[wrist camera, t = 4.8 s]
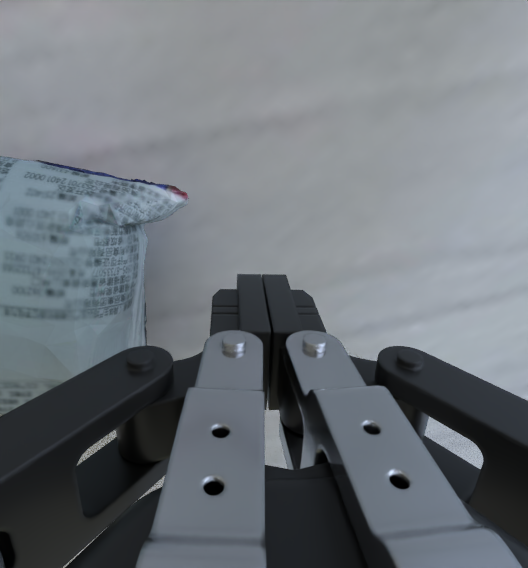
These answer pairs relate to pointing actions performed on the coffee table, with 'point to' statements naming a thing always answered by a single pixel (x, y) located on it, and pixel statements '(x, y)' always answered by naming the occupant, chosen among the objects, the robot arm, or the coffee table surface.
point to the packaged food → (70, 271)
